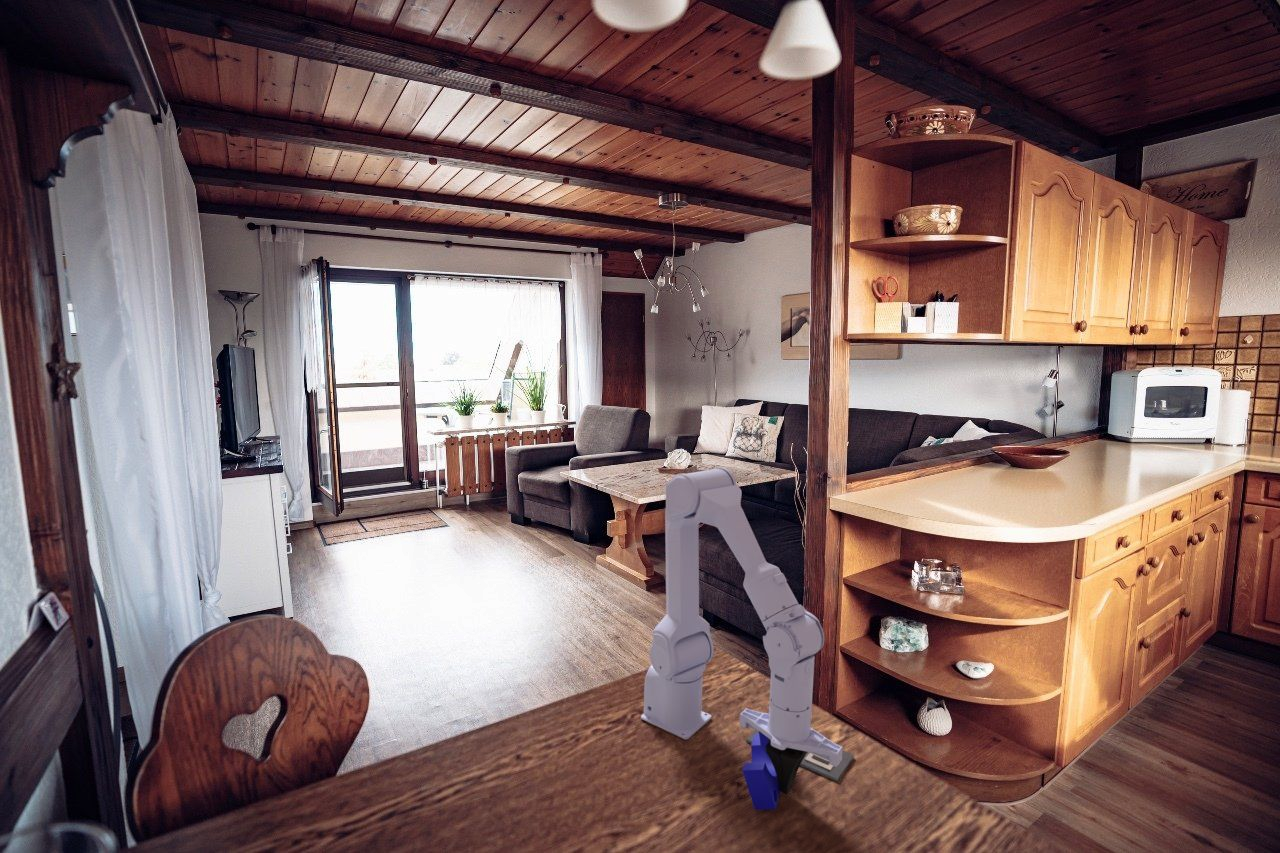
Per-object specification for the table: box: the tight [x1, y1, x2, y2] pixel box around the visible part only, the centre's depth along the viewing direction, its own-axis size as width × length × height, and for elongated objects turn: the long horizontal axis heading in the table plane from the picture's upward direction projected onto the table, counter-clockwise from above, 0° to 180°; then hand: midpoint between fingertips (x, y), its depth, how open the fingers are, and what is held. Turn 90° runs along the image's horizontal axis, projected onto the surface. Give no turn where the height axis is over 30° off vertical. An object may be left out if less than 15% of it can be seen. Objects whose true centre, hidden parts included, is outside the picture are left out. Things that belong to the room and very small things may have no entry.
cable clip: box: [741, 731, 781, 810], centre depth 92 cm, size 12×4×6 cm, turn 159°
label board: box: [745, 729, 855, 783], centre depth 100 cm, size 15×7×1 cm, turn 53°
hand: (786, 789), depth 90 cm, fingers closed
